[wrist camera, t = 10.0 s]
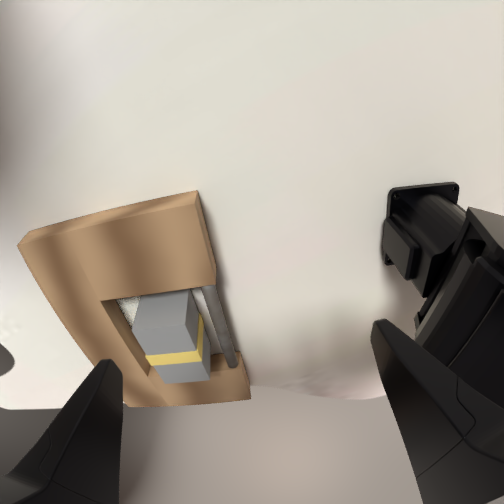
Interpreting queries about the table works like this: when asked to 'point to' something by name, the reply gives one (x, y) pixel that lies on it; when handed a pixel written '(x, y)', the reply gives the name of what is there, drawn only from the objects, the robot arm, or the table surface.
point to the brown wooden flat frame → (134, 290)
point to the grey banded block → (173, 336)
